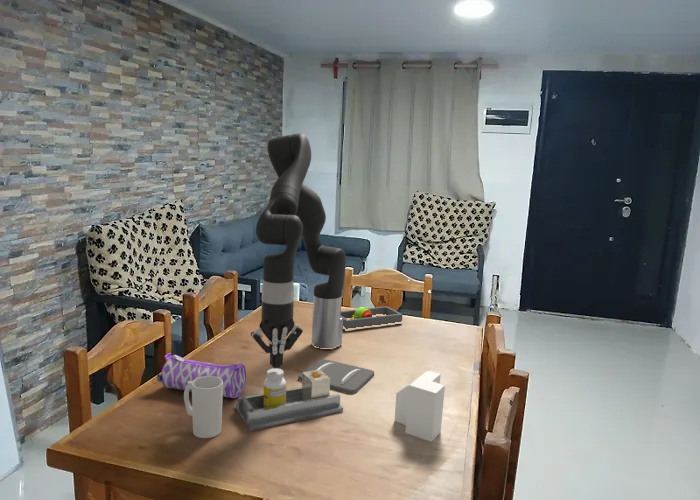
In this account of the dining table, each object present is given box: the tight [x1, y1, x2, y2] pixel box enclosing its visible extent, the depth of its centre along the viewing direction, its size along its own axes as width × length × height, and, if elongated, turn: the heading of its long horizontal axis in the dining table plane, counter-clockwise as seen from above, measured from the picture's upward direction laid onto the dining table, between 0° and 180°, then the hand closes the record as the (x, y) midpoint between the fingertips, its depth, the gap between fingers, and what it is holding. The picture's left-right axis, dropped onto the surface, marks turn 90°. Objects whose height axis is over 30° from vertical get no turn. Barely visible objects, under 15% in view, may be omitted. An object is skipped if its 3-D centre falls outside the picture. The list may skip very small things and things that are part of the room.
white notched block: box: [394, 370, 446, 442], centre depth 131 cm, size 11×11×12 cm
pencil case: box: [156, 352, 247, 399], centre depth 143 cm, size 22×9×10 cm, turn 77°
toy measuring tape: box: [350, 306, 385, 320], centre depth 207 cm, size 6×19×7 cm, turn 133°
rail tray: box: [235, 370, 344, 432], centre depth 135 cm, size 24×12×9 cm, turn 119°
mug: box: [183, 376, 224, 439], centre depth 123 cm, size 10×7×12 cm, turn 64°
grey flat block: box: [297, 358, 375, 395], centre depth 156 cm, size 18×3×15 cm
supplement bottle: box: [263, 367, 287, 408], centre depth 133 cm, size 5×5×10 cm
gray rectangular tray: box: [341, 305, 403, 329], centre depth 205 cm, size 24×11×4 cm, turn 119°
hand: (276, 367), depth 132 cm, fingers closed
